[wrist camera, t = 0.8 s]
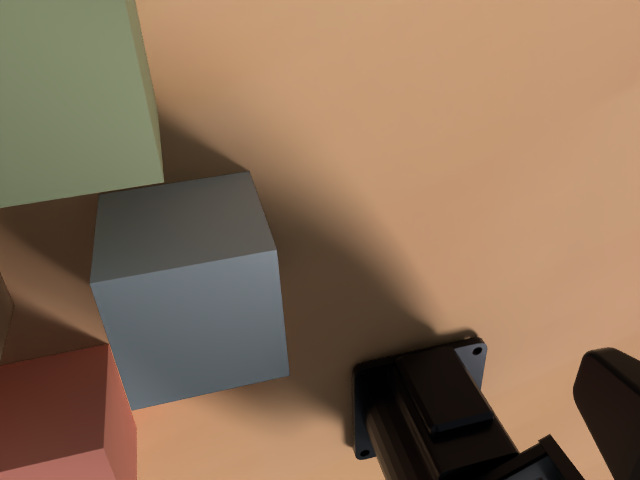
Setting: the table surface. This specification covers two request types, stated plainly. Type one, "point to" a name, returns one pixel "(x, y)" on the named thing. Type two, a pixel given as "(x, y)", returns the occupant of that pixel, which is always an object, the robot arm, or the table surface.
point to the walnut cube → (4, 313)
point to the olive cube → (74, 101)
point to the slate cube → (189, 288)
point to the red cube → (66, 419)
